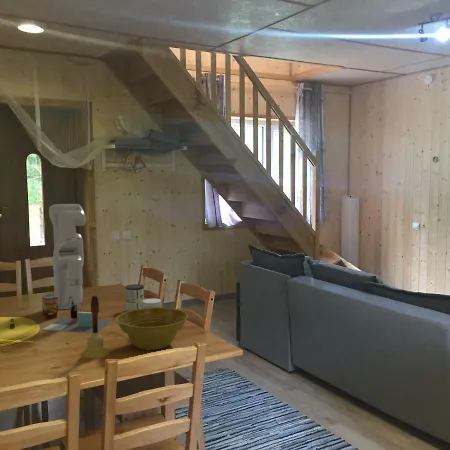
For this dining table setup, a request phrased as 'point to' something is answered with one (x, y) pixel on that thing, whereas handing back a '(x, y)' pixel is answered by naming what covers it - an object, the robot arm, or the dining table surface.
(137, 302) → the coffee can
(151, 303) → the supplement tub
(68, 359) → the dining table surface
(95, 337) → the handbell
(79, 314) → the tile
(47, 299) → the canned food
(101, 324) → the mat
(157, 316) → the planter bowl
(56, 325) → the pad
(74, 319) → the tan wooden block
